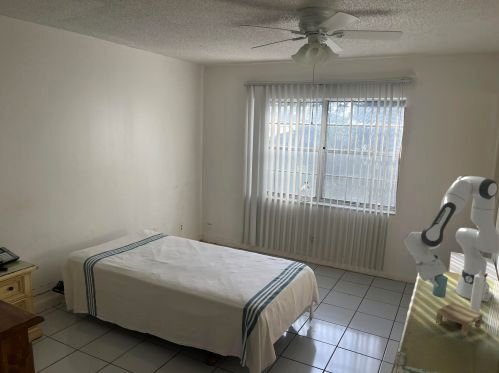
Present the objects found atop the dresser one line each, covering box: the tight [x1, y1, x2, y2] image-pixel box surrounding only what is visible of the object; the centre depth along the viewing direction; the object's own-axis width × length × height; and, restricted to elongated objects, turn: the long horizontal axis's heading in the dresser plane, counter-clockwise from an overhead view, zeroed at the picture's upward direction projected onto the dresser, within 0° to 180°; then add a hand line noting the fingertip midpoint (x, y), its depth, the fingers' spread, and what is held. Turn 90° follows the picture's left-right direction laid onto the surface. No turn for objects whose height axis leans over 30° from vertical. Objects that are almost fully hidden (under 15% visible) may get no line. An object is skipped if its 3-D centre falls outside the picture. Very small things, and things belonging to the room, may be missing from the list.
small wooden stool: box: [435, 302, 483, 337], centre depth 186 cm, size 16×14×7 cm
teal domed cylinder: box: [431, 274, 448, 299], centre depth 197 cm, size 6×6×10 cm
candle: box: [469, 270, 485, 313], centre depth 195 cm, size 7×7×25 cm
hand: (441, 284), depth 196 cm, fingers closed on teal domed cylinder, 6 cm apart
